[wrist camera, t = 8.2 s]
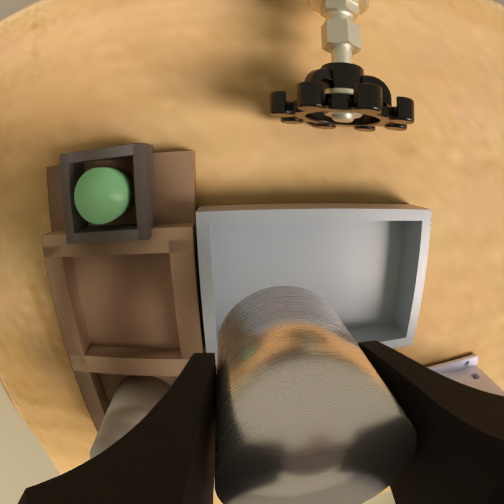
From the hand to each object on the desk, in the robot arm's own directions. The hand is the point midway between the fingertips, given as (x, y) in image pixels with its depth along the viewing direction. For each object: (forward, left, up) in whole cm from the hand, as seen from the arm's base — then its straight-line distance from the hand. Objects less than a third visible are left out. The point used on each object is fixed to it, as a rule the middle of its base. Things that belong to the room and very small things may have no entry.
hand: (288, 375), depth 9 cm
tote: (-3, 0, -9) cm, 9 cm away
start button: (+7, -5, -8) cm, 12 cm away
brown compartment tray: (+7, +3, -9) cm, 12 cm away
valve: (-4, -14, -9) cm, 17 cm away
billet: (0, 0, -2) cm, 2 cm away
